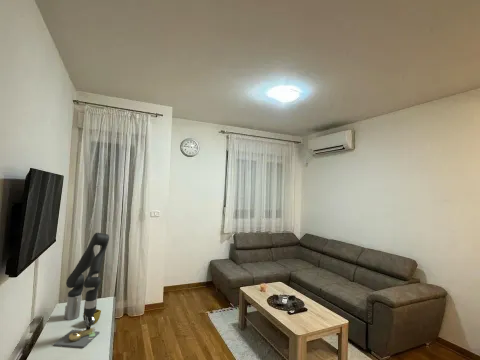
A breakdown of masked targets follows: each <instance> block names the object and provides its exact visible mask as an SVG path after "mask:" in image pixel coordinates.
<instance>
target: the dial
mask: <svg viewBox="0 0 480 360" xmlns="http://www.w3.org/2000/svg"><path fill="white" fill-rule="evenodd" d="M82 330H83V329H82ZM95 331H96V327H90V329H87V330H86V329H84V330H83V331H75V332H72V333H71V334H70V335H69V342H76V341H78V340H80V339H81V337H83V336H86V335H89V334H93V333H95Z"/></svg>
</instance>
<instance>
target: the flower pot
mask: <svg viewBox="0 0 480 360" xmlns="http://www.w3.org/2000/svg"><path fill="white" fill-rule="evenodd" d="M82 314H83V315H85V314H84V312H83V313H82ZM101 314H102V310H101V309H97V308H96V312H95V313H94V319H96V321H95V322H94V324H93V325H95V324H96V323H98V321H99V320H100V317H101ZM83 315H82V316H83Z"/></svg>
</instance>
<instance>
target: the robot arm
mask: <svg viewBox="0 0 480 360" xmlns="http://www.w3.org/2000/svg"><path fill="white" fill-rule="evenodd" d="M109 240H110V235H109V234H107V233H102V232H95V233H94V234H93V236H92V237H91V240H90V241H89V244H88V245H87V248H86V249H85V251H84V252H83V254H82V256H81V258H80V259H79V261H78V263H77V264H76V266H75V267H74V269H73V270H72V271H71V273H70V274H69V276H68V277H67V279H66V282H65V284H66V287H67V288H68V289H71V290H69V291H68V292H67V298H66V299H67V301H66V305H65V307H64V317H63V319H64V320H67V321H70V320H71V321H72V320H75V319H78V318H79V317H80V314H81V305H82V295H83V294H82V293H83V291H84V288H85V289H89V290H87V291H86V293H85V298H84V299H85V300H84V307H83V313H84V314H85V315H82V317H83V322H84V324H85V326H86V327H85V330H87V329H90V328H92V327H91V326H93V325H95V324H94V322H95V321H96V319H94V313H95V312H96V309H97V305H98V304H97V302H98V301H97V300H98V299H97V298H98V292H99V289H100V286H101V284H102V278H101V277H100V276H95V275H97V274H100V273H101V269H102V263H103V260H104V256H105V254H106V251H107V247H108V244H109ZM95 246H100V250H99V252H98V253H97V254H95V249H94V248H95ZM88 269H89V271H88V273H87V276H85V275H84V273H85V272H86V271H87V270H88ZM85 277H86V278H85ZM91 288H93V289H91Z"/></svg>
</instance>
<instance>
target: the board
mask: <svg viewBox="0 0 480 360" xmlns="http://www.w3.org/2000/svg"><path fill="white" fill-rule="evenodd" d="M83 330H85V329H81V330H80V329H71V330H70V331H69V332H67V333H66V334H64V336H62V337H60V338H59V340H57V341H56V342H54V343H53V347H61V346H62V348H63V347H64V348H76V349H84V348H85V347H87V346H88V345H89V343H91V342H92V341H93V340H94V339H95V338H97V336H98V335H99V334H100V331H96V330H95V333H93V334H89V335H86V336H83V337H81V339H80V340H78V341H76V342H69V335H70V334H71V333H72V332H75V331H83Z"/></svg>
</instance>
